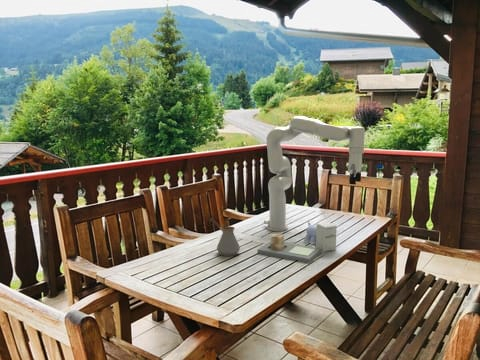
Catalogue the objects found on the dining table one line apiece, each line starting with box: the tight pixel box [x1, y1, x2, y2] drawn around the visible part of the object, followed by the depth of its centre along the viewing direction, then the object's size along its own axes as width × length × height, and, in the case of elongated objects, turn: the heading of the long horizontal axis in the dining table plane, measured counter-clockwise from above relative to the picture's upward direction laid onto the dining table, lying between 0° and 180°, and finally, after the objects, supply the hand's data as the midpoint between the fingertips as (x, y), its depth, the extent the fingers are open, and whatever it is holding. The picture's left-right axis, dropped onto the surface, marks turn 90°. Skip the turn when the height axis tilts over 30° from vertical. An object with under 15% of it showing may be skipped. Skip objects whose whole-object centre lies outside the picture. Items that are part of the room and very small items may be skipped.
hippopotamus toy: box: [303, 221, 317, 245], centre depth 220 cm, size 11×15×10 cm
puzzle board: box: [256, 240, 322, 264], centre depth 203 cm, size 27×16×2 cm, turn 60°
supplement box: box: [315, 222, 337, 252], centre depth 208 cm, size 7×7×13 cm
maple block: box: [270, 233, 285, 251], centre depth 206 cm, size 5×5×8 cm
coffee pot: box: [210, 217, 241, 257], centre depth 207 cm, size 21×12×15 cm, turn 36°
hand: (355, 182), depth 218 cm, fingers open, 9 cm apart
